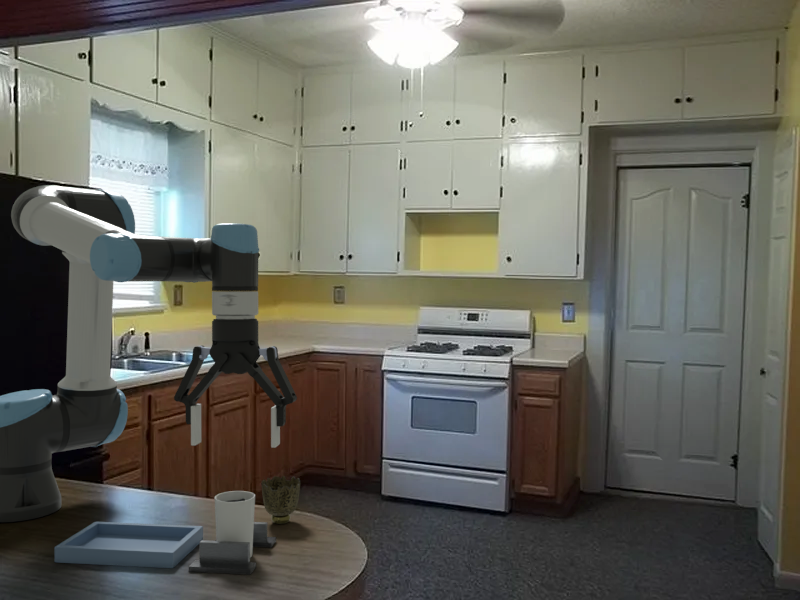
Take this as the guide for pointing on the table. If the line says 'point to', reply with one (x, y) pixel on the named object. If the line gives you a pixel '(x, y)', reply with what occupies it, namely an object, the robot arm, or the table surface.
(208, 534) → the table surface
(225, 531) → the white tumbler
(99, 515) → the table surface
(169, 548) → the tray
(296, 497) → the cup
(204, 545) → the bracket
